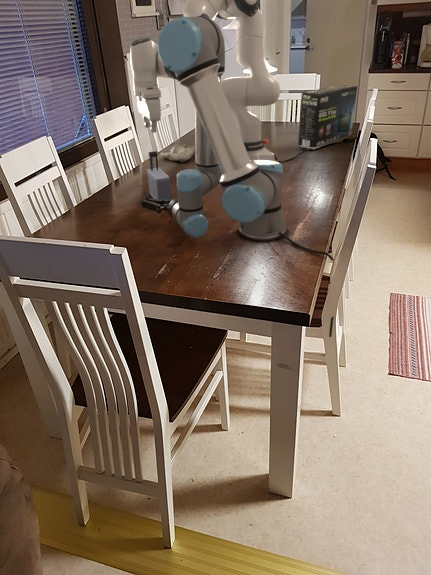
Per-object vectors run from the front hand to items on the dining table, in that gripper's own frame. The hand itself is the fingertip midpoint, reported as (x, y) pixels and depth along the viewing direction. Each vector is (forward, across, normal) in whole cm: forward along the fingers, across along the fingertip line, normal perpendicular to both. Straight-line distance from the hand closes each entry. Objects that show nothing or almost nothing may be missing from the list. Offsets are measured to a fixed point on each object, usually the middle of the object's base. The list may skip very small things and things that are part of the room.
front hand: (162, 192), depth 168 cm
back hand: (+16, +2, +19) cm, 25 cm away
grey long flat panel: (+12, +2, +2) cm, 12 cm away
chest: (+12, +2, -6) cm, 14 cm away
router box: (+51, +106, -6) cm, 117 cm away
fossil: (+63, +27, -6) cm, 69 cm away
